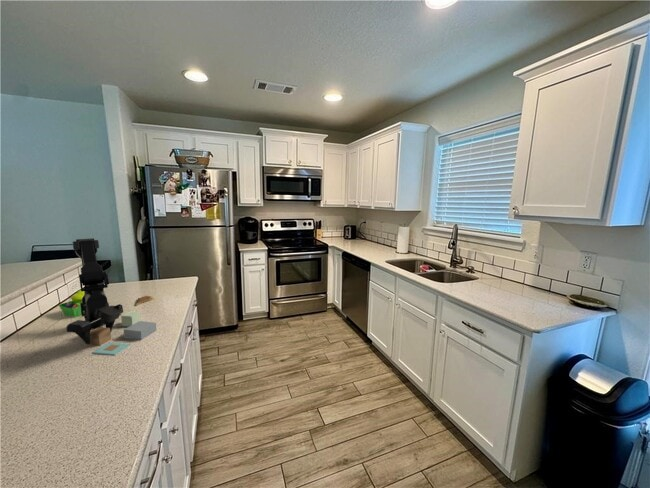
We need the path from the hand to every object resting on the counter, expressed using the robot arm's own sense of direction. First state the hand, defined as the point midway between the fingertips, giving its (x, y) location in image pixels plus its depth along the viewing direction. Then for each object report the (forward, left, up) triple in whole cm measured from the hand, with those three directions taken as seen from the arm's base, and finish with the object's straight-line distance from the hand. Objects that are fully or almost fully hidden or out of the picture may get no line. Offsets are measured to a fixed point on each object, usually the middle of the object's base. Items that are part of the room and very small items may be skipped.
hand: (99, 338), depth 106 cm
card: (+9, -4, -2) cm, 10 cm away
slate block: (+11, +8, -2) cm, 14 cm away
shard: (-14, +42, -2) cm, 44 cm away
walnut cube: (0, 0, -2) cm, 2 cm away
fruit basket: (-34, +22, -2) cm, 40 cm away
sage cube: (0, +16, -2) cm, 16 cm away
